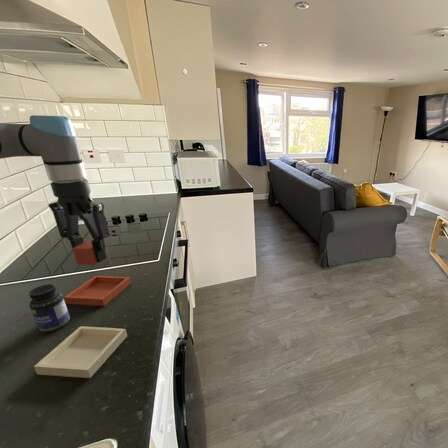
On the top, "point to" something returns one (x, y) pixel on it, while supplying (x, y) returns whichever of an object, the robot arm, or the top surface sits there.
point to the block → (85, 254)
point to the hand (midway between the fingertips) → (92, 259)
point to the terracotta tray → (98, 290)
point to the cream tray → (81, 352)
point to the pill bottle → (48, 308)
